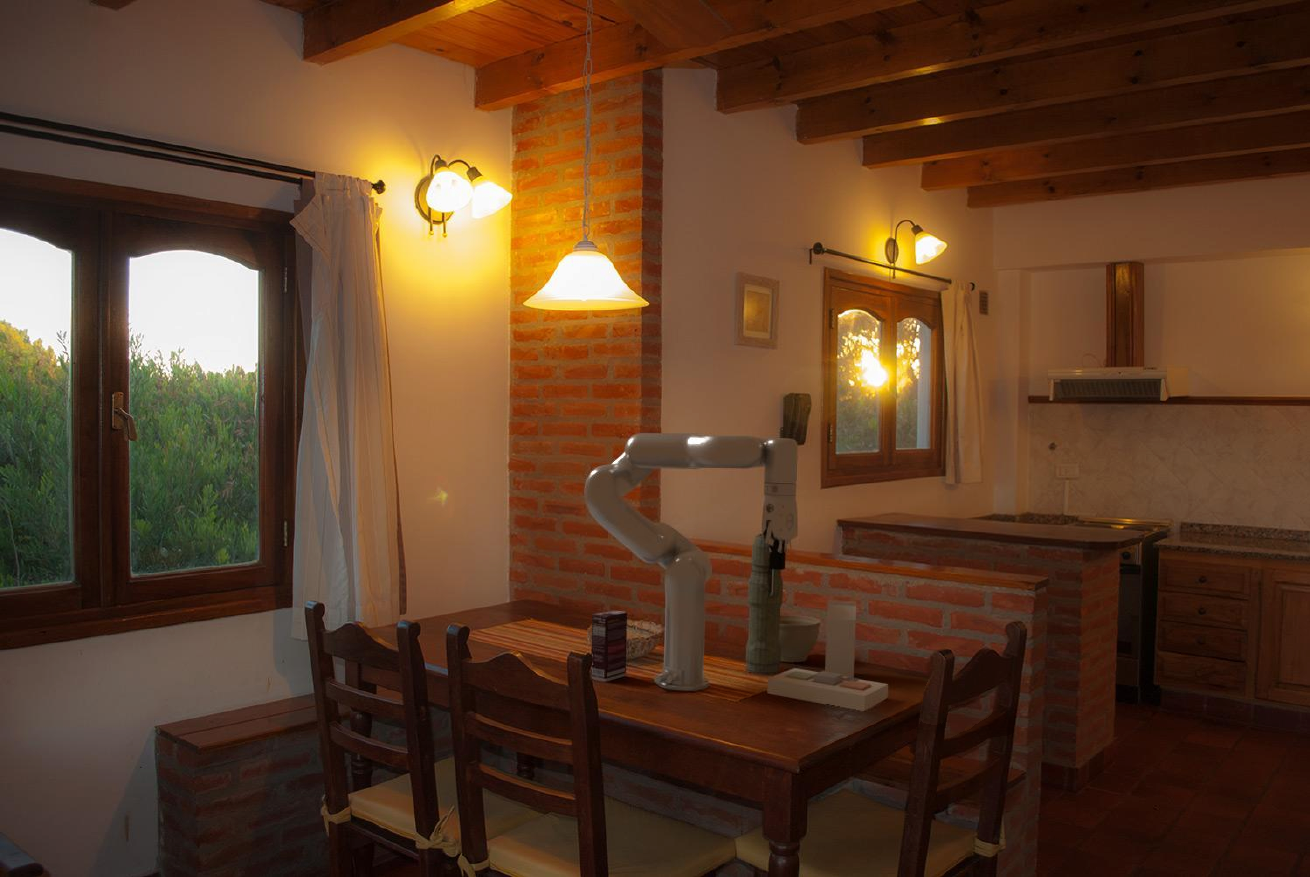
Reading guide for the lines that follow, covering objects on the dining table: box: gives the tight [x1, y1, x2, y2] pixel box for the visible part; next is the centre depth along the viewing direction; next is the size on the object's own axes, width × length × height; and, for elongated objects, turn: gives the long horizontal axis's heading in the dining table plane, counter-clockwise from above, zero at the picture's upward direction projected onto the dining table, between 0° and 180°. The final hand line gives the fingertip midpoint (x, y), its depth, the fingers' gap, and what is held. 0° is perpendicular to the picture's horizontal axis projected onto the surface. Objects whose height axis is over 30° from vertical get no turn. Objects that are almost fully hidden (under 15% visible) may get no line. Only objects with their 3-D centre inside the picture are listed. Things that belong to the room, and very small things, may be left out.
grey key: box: [813, 670, 842, 686], centre depth 234 cm, size 5×5×2 cm
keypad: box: [766, 667, 889, 712], centre depth 234 cm, size 14×24×4 cm, turn 56°
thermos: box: [745, 533, 784, 676], centre depth 258 cm, size 9×12×35 cm
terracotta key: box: [841, 681, 871, 691], centre depth 230 cm, size 5×5×2 cm
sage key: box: [786, 671, 814, 681], centre depth 238 cm, size 5×5×2 cm
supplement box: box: [590, 610, 628, 683], centre depth 245 cm, size 9×5×16 cm, turn 145°
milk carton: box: [824, 599, 857, 678], centre depth 256 cm, size 7×7×19 cm
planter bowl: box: [779, 614, 821, 663], centre depth 273 cm, size 16×16×11 cm
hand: (777, 568), depth 235 cm, fingers closed
